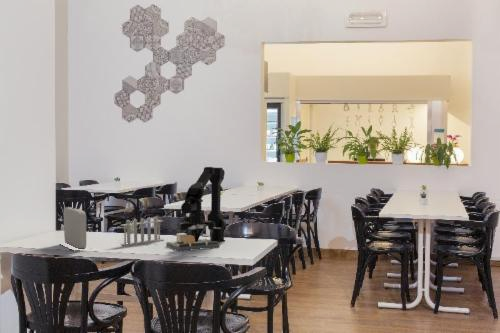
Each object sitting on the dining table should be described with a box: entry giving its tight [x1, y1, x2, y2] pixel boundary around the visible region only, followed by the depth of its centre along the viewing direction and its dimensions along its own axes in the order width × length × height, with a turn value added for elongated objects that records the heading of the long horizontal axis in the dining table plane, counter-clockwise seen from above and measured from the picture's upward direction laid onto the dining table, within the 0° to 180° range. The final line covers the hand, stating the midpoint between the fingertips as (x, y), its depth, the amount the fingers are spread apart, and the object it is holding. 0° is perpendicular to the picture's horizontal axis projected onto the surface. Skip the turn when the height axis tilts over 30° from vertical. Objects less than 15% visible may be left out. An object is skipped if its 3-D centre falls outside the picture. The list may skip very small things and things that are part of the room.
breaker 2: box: [184, 234, 194, 244], centre depth 368 cm, size 4×4×4 cm
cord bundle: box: [179, 241, 219, 247], centre depth 366 cm, size 21×2×2 cm, turn 117°
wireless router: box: [63, 206, 93, 252], centre depth 376 cm, size 31×10×20 cm, turn 31°
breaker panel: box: [165, 238, 220, 252], centre depth 373 cm, size 22×18×2 cm
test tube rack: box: [120, 216, 165, 247], centre depth 387 cm, size 25×4×13 cm, turn 134°
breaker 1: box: [176, 232, 188, 242], centre depth 376 cm, size 4×4×4 cm
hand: (196, 241), depth 369 cm, fingers closed
